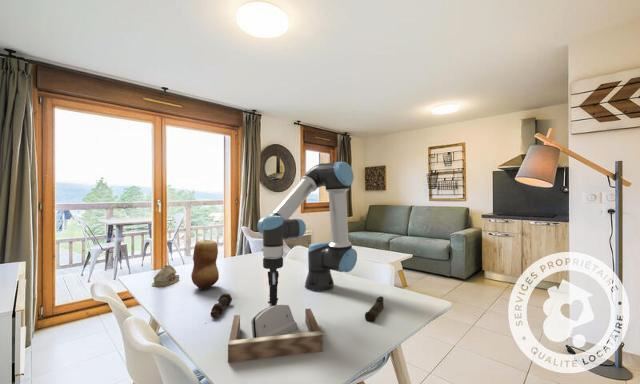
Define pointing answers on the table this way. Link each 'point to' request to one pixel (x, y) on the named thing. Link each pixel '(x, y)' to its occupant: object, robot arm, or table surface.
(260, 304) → the table surface
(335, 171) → the robot arm
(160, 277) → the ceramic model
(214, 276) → the butternut squash
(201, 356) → the table surface
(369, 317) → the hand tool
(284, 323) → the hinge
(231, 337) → the frame
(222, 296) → the bolt
